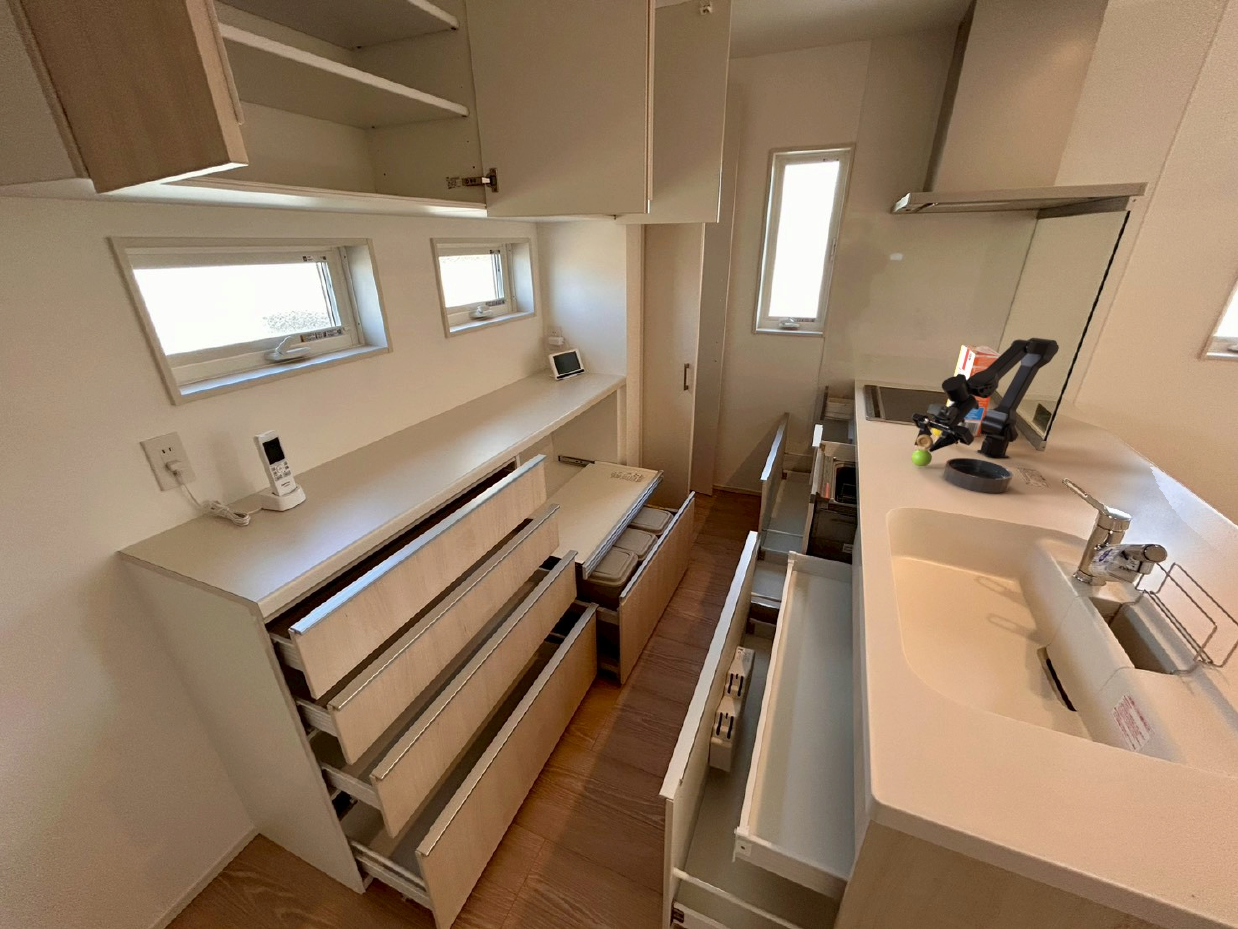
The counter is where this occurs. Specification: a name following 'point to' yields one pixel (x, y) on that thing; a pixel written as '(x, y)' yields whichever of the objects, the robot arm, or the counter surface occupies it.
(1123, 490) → the counter surface
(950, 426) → the robot arm
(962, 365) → the red and white box
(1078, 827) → the counter surface
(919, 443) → the snail figurine
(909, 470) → the counter surface
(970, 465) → the pan
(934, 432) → the lemon
